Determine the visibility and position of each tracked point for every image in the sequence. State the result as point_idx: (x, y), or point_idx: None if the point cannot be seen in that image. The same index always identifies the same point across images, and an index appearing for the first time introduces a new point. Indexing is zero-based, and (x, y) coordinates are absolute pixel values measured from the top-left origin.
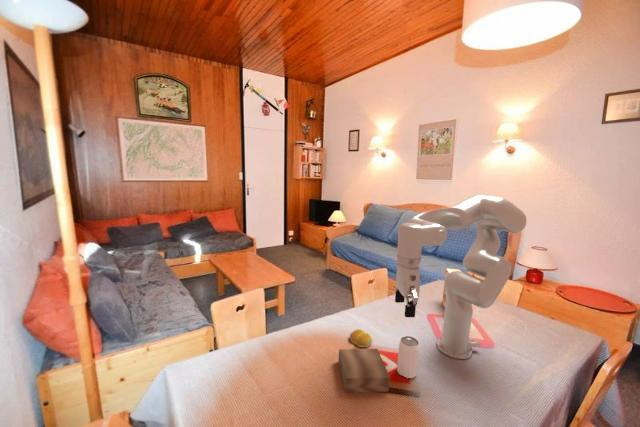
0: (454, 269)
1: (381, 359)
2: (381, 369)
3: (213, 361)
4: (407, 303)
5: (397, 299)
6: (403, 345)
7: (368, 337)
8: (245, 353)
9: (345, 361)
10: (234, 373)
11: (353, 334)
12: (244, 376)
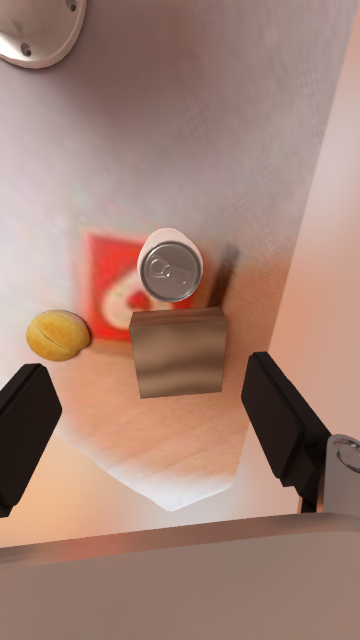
0: None
1: (170, 325)
2: (203, 332)
3: (154, 493)
4: (312, 506)
5: (49, 425)
6: (184, 296)
7: (64, 328)
8: (135, 475)
9: (177, 390)
10: (173, 475)
11: (59, 359)
12: (178, 467)
